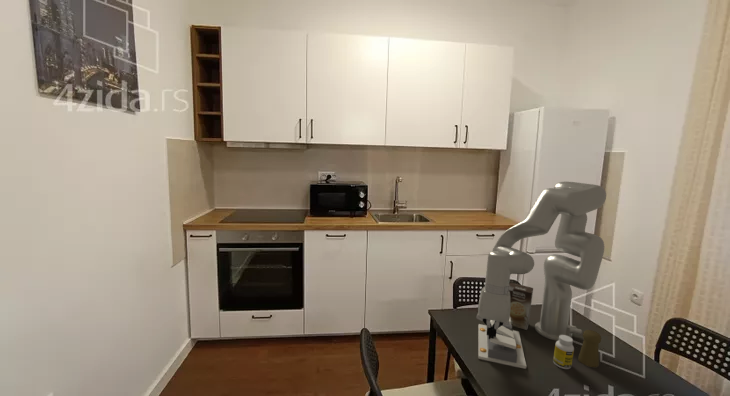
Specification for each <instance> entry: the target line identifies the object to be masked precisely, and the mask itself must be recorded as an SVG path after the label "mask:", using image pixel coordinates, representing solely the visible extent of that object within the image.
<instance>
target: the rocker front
mask: <svg viewBox="0 0 730 396" xmlns="http://www.w3.org/2000/svg"><path fill="white" fill-rule="evenodd" d="M491 342H493V343H496V344H499V345H501V347H504V346H506V347H509V348H512V349H516V342H515V339H513V338H509V337H506V336H503V335H499V334H496V337H494V339H492V338H491Z"/></svg>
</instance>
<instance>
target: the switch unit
mask: <svg viewBox="0 0 730 396" xmlns="http://www.w3.org/2000/svg"><path fill="white" fill-rule="evenodd" d="M502 326H504V327H505V328H507V329H509V330H511V331H513V334H514V339H515V342H516V349H512V348H509V347H506V346H504V347H501V345H499V344H496V343H493V342H491V339H489V337H488V335H487V326H486V324H482V323H481V324H480V323H478V327H477V328H478V332H477V333H478V334H477V336H478V338H477V340H478V344H477V345H478V347H477V348H478V349H477V350H478V351H477V353H478V354H477V355H478V356H477V358H478V359H479V360H482V361H486V362H493V363H496V364H500V365H506V366H510V367H515V368H521V369H525V370H526V369H527V362H526V359H525V354H524V349H523V344H522V339H521V335H520V331H518V330H514V329H513V326H512V324H510V325H502ZM496 334H499V335H500V333H498V332H496Z"/></svg>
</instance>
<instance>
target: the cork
mask: <svg viewBox="0 0 730 396" xmlns="http://www.w3.org/2000/svg"><path fill="white" fill-rule="evenodd" d="M582 338H583V342H582V345H581V347H580V351H579V353H578V357H577V360H578V361H579V363H581V364H582V365H584V366H587V367H590V368H598V367H599V366H600V356H599V355H600V352H599V344H601V342H602V336H601V334H600V332H597V331H595V330H592V329H585V330H584V331H582Z"/></svg>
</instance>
